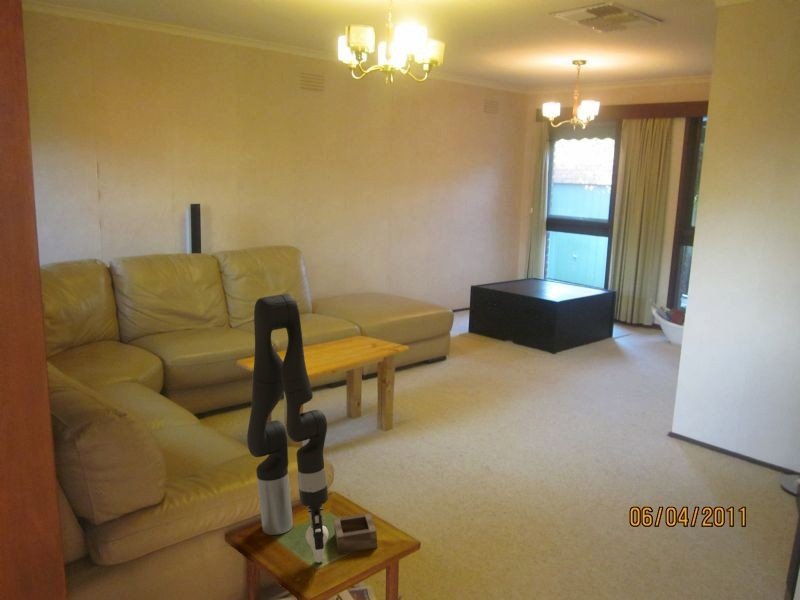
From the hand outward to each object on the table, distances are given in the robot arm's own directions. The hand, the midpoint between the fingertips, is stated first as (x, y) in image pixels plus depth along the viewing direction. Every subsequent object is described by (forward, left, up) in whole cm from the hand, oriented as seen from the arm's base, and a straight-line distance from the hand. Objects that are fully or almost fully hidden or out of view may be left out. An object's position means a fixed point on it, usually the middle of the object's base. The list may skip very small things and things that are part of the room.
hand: (318, 540), depth 176 cm
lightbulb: (0, 0, -7) cm, 7 cm away
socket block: (-8, +11, -6) cm, 15 cm away
